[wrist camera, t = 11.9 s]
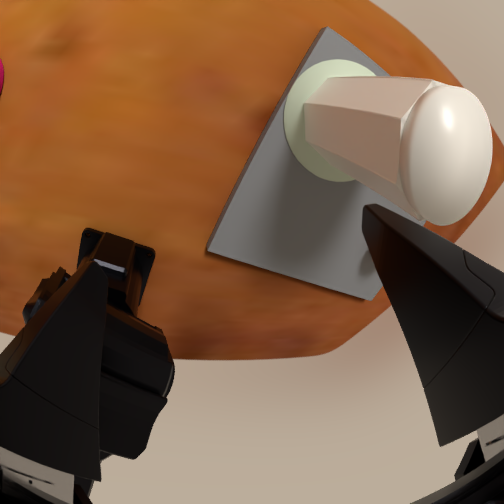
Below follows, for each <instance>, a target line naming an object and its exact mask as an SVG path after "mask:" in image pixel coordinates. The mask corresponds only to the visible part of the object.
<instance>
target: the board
mask: <svg viewBox="0 0 504 504" xmlns="http://www.w3.org/2000/svg"><path fill="white" fill-rule="evenodd" d="M350 76H388V77H391V76H390V75H388V74H387V73H386V72H385V71H384V70H383V69H382V68H381V67H380V66H378V65H377V64H376V63H375V62H374V61H373V60H371V59H370V58H369V57H368V56H367V55H365V54H364V53H363V52H362V51H360V50H359V49H358V48H357V47H355V46H354V45H353V44H351V43H350V42H349V41H347V40H346V39H345V38H343V37H342V36H341V35H339V34H338V33H336V32H335V31H333V30H332V29H331V28H329V27H328V26H327V27H324V28H322V29H321V30H320V32H319V33H318V35H317V37H316V38H315V40H314V42H313V43H312V45H311V47H310V48H309V50H308V52H307V53H306V55H305V57H304V58H303V60H302V62H301V64H300V65H299V67H298V69H297V70H296V72H295V74H294V76H293V77H292V79H291V81H290V83H289V84H288V86H287V88H286V90H285V92H284V93H283V95H282V97H281V99H280V101H279V102H278V104H277V106H276V108H275V110H274V111H273V113H272V115H271V117H270V119H269V121H268V123H267V124H266V126H265V128H264V130H263V132H262V134H261V136H260V138H259V139H258V141H257V143H256V145H255V147H254V149H253V151H252V153H251V155H250V157H249V159H248V161H247V163H246V165H245V166H244V168H243V170H242V172H241V174H240V176H239V178H238V180H237V182H236V184H235V186H234V188H233V190H232V192H231V194H230V197H229V199H228V201H227V203H226V205H225V207H224V209H223V211H222V213H221V215H220V217H219V219H218V221H217V223H216V226H215V228H214V230H213V232H212V234H211V236H210V238H209V240H208V243H207V251H210V252H213V253H216V254H219V255H222V256H226V257H229V258H232V259H235V260H238V261H241V262H245V263H248V264H251V265H254V266H257V267H261V268H264V269H267V270H270V271H274V272H277V273H280V274H283V275H287V276H290V277H293V278H296V279H300V280H303V281H306V282H310V283H313V284H316V285H319V286H323V287H326V288H329V289H333V290H336V291H339V292H343V293H346V294H349V295H353V296H356V297H359V298H363V299H366V300H370V301H371V300H372V299H373V298H374V296H375V295H376V294H377V293H378V291H379V290H380V289H381V287H382V286H383V285H382V282H381V280H380V278H379V276H378V274H377V271H376V268H375V266H374V263H373V260H372V257H371V255H370V252H369V249H368V246H367V244H366V241H365V239H364V236H363V233H362V211H363V207H364V205H367V204H373V203H376V204H378V205H381V206H383V207H385V208H387V209H389V210H391V211H393V212H395V213H397V214H399V215H401V216H403V217H405V218H407V219H409V220H411V221H413V222H415V223H417V224H419V225H421V226H423V225H424V224H425V222H426V220H423V221H418V220H417V219H415V218H414V217H413V216H411V215H410V214H408V213H407V212H405V211H404V210H402V209H401V208H400V207H398V206H397V205H395V204H394V203H392V202H391V201H389V200H388V199H386V198H385V197H383V196H381V195H380V194H378V193H377V192H375V191H374V190H372V189H370V188H369V187H367V186H366V185H364V184H362V183H361V182H359V181H357V180H356V179H354V178H352V177H351V176H349V175H347V174H345V173H344V172H342V171H340V170H338V169H337V168H335V167H333V166H331V165H330V164H329V163H328V162H327V161H326V160H325V159H324V158H323V157H322V156H321V155H320V154H319V153H318V152H317V151H316V150H315V149H314V148H313V147H312V146H311V145H310V144H309V143H308V142H307V141H305V115H304V103H305V101H306V100H307V99H308V98H309V97H310V96H311V95H312V94H313V93H314V92H315V91H316V90H317V89H318V88H319V87H320V86H321V85H322V83H323V82H324V81H325V80H326V79H327V78H329V77H350Z"/></svg>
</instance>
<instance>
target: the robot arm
mask: <svg viewBox="0 0 504 504" xmlns="http://www.w3.org/2000/svg"><path fill="white" fill-rule="evenodd" d="M86 233H89V234H90V236H88V235H87V234H86ZM362 233H363V236H364V239H365V241H366V244H367V246H368V249H369V252H370V255H371V257H372V260H373V263H374V266H375V268H376V271H377V274H378V276H379V278H380V280H381V282H382V285H383V287H384V289H385V291H386V293H387V295H388V298H389V300H390V302H391V304H392V307H393V309H394V311H395V313H396V316H397V318H398V321H399V323H400V326H401V328H402V331H403V333H404V336H405V338H406V341H407V343H408V346H409V348H410V351H411V354H412V356H413V359H414V362H415V365H416V368H417V371H418V373H419V376H420V379H421V382H422V385H423V388H424V392H425V395H426V398H427V402H428V405H429V408H430V412H431V416H432V419H433V422H434V426H435V430H436V434H437V438H438V442H439V445H440V447H441V446H444V445H446V444H448V443H451V442H453V441H455V440H457V439H459V438H462V437H464V436H465V435H468V434H470V433H471V432H473V431H476V430H477V434H478V438H477V439H475V440H474V441H472V442H470V443H469V445H468V447H467V450H466V452H465V454H464V457H463V459H462V461H461V463H460V465H459V467H458V469H457V471H456V473H455V475H454V476H455V480H456V481H455V482H453V483H451V484H450V485H448V486H446V487H444V488H442V489H440V490H438V491H436V492H434V493H432V494H430V495H428V496H426V497H424V498H422V499H419V500H417V501H415V502H413V503H410V504H504V273H503V272H502V271H500V270H498V269H496V268H495V267H493V266H491V265H489V264H487V263H485V262H484V261H482V260H481V259H479V258H477V257H476V256H474V255H472V254H471V253H469V252H467V251H465V250H462V248H460V247H459V246H457V245H455V244H454V243H452V242H450V241H448V240H447V239H445V238H443V237H441V236H439V235H438V234H436V233H434V232H432V231H430V230H428V229H427V228H425V227H423V226H421V225H419V224H417V223H415V222H413V221H411V220H409V219H407V218H405V217H403V216H401V215H399V214H397V213H395V212H393V211H391V210H389V209H387V208H385V207H383V206H381V205H378V204H376V203H373V204H367V205H364V207H363V211H362ZM147 253H151V254H152V255H151V256H149V255H147ZM154 258H155V250H154V249H152V248H150V247H147V246H143V245H140V244H137V243H135V242H134V241H132V240H129V239H126V238H123V237H120V236H117V235H114V234H111V233H108V232H106V233H104V232H100V231H97V230H94V229H92V228H86V229H84V231H83V233H82V237H81V243H80V249H79V256H78V263H77V271H76V272H75V273H74V274H73V275H72V276H70V275H69V274H68V273H66V270H64V269H63V268H62V267H59V269H58V270H57V272H56V273H55V272H53V273H52V275H51V276H50V278H47V279H42V281H41V283H40V284H39V286H38V288H37V290H36V291H35V293H34V295H33V296H32V297H31V298H30V300H29V301H28V302H27V303H26V305H25V307H24V310H23V312H22V314H23V318H24V321H25V324H26V325H25V327H23V328H22V330H21V331H20V332H19V333H18V334H17V336H16V337H15V338H14V339H13V340H12V342H11V343H10V344H9V345H8V346H7V347H6V348H5V350H4V351H3V352H2V353H1V354H0V504H92V502H91V501H90V499H89V496H90V493H91V489H92V486H93V483H94V480H95V481H99V482H101V467H100V463H101V462H102V460H104V459H106V458H108V457H109V456H111V455H117V456H121V457H124V458H128V459H136V458H137V457H138V456H139V455H140V454H141V453H142V452H143V451H144V450H145V449H146V446H147V443H148V439H149V436H150V433H151V430H152V427H153V424H154V422H155V420H156V418H157V416H158V414H159V413H160V411H161V410H162V409H163V407H164V406H165V405H166V403H167V398H166V397H167V395H168V394H169V392H170V389H171V387H172V384H173V380H174V373H175V366H174V362H173V359H172V356H171V354H170V351H169V348H168V344H167V341H166V337H165V336H164V335H163V332H162V329H160V328H158V327H156V326H152V325H150V324H148V323H146V322H144V321H143V320H141V319H139V318H137V311H138V306H139V305H140V302H141V298H142V295H143V292H144V289H145V286H146V282H147V279H148V276H149V273H150V270H151V267H152V264H153V261H154Z"/></svg>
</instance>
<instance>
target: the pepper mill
mask: <svg viewBox="0 0 504 504" xmlns="http://www.w3.org/2000/svg"><path fill="white" fill-rule="evenodd" d="M3 78H4V70H3V64H2V61H1V59H0V93H1V90H2V85H3Z"/></svg>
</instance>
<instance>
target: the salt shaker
mask: <svg viewBox="0 0 504 504" xmlns="http://www.w3.org/2000/svg"><path fill="white" fill-rule="evenodd" d="M304 115H305V141H307V142H308V143H309V144H310V145H311V146H312V147H313V148H314V149H315V150H316V151H317V152H318V153H319V154H320V155H321V156H322V157H323V158H324V159H325V160H326V161H327V162H328V163H329V164H330V165H331V166H333V167H335V168H337V169H338V170H340V171H342V172H344V173H345V174H347V175H349V176H351V177H352V178H354V179H356V180H357V181H359V182H361V183H362V184H364V185H366V186H367V187H369V188H370V189H372V190H374V191H375V192H377V193H378V194H380V195H381V196H383V197H385V198H386V199H388V200H389V201H391V202H392V203H394V204H395V205H397V206H398V207H400V208H401V209H402V210H404V211H405V212H407V213H408V214H410V215H411V216H413V217H414V218H415V219H417V220H418V221H423V220H428V221H429V222H431V223H433V224H435V225H441V226H444V225H449V224H453V223H455V222H457V221H458V220H460V219H461V218H463V217H464V216H465V215H466V214H467V213H468V212H469V211H470V210H471V209H472V207H473V206H474V205H475V203H476V202H477V200H478V199H479V197H480V195H481V193H482V191H483V189H484V187H485V184H486V181H487V178H488V175H489V171H490V166H491V160H492V133H491V127H490V123H489V120H488V116H487V114H486V111H485V109H484V107H483V106H482V104H481V102H480V101H479V100H478V98H476V96H475V95H474V94H472V93H471V92H470V91H468V90H466V89H464V88H461V87H456V86H450V85H447V84H443V83H440V82H437V81H434V80H431V79H421V78H408V77H388V76H350V77H329V78H327V79H326V80H325V81H324V82H323V83H322V85H321V86H320V87H319V88H318V89H317V90H316V91H315V92H314V93H313V94H312V95H311V96H310V97H309V98H308V99H307V100H306V101H305V103H304Z"/></svg>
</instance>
